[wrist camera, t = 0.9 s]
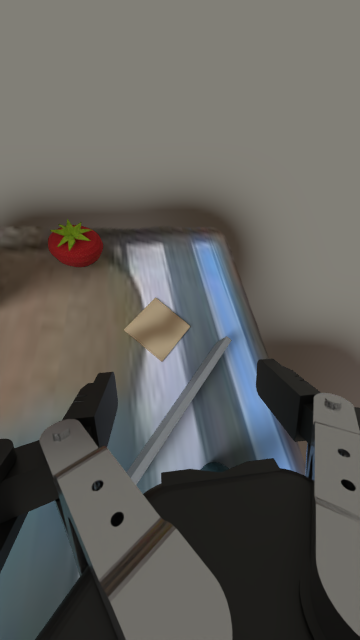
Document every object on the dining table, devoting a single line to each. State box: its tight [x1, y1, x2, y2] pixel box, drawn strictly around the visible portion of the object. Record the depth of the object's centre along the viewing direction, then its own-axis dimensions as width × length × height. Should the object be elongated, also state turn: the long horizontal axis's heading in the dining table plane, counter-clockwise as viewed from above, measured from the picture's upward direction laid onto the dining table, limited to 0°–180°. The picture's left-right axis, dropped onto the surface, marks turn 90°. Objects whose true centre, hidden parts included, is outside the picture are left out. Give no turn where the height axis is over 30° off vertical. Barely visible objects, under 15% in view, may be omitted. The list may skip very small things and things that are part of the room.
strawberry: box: [48, 219, 103, 267], centre depth 33 cm, size 6×8×10 cm
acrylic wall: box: [126, 336, 231, 485], centre depth 32 cm, size 1×24×4 cm, turn 143°
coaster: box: [124, 298, 190, 361], centre depth 37 cm, size 8×8×1 cm
